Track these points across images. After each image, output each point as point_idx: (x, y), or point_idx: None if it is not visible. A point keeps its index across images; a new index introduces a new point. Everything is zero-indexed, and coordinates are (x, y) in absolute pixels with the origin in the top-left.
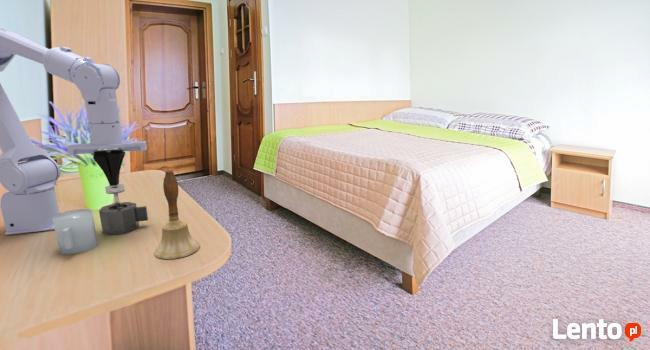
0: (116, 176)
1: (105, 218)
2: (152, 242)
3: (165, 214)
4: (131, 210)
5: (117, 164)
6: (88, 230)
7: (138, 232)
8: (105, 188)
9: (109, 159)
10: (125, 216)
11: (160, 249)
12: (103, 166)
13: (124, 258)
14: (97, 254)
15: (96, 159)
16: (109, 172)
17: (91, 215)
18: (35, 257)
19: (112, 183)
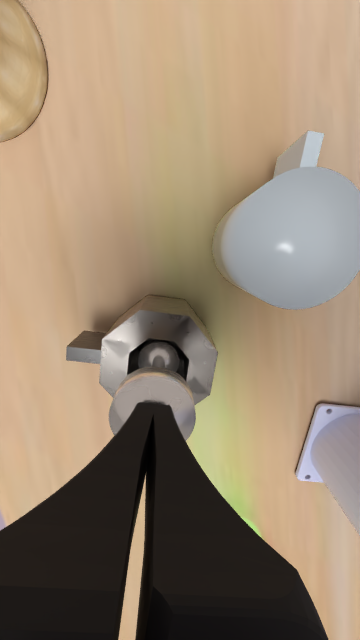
0: (120, 429)
1: (196, 321)
2: (64, 178)
3: (50, 403)
4: (112, 329)
5: (61, 493)
6: (238, 205)
7: (113, 286)
8: (193, 405)
9: (109, 550)
10: (134, 311)
11: (10, 15)
12: (194, 495)
13: (132, 82)
14: (206, 160)
15: (271, 571)
16: (156, 452)
17: (235, 227)
18: None
19: (155, 407)
